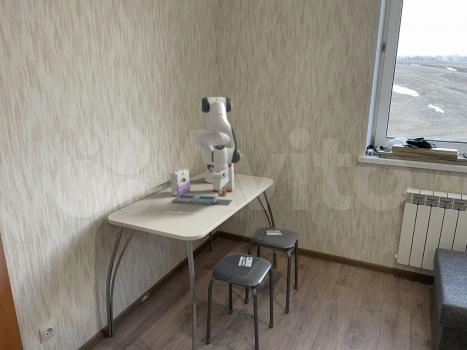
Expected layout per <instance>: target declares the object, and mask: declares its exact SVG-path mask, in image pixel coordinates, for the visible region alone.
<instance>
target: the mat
mask: <svg viewBox="0 0 467 350" xmlns="http://www.w3.org/2000/svg"><path fill="white" fill-rule="evenodd" d="M232 201H233V199H225V198H224V199H220V198H218V199H216V200H215V201H214V202H213V203H212V205H215V206H229V205H230V203H232Z"/></svg>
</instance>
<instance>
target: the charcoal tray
mask: <svg viewBox="0 0 467 350" xmlns="http://www.w3.org/2000/svg"><path fill="white" fill-rule="evenodd" d="M197 197H198V196H197V195H193V194H191V195H190V194H183V195H179V196H175V198H173V199H172V204H187V205H190V204H191V203H193V201H194V200H195V199H196V198H197Z"/></svg>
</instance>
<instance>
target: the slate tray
mask: <svg viewBox="0 0 467 350" xmlns="http://www.w3.org/2000/svg"><path fill="white" fill-rule="evenodd" d="M216 200H217V196H216V195H215V196H212V195H199V196H197V198H196V199H195V200H194V201H192V205H205V206H211V205H213V203H214V202H215V201H216Z"/></svg>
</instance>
